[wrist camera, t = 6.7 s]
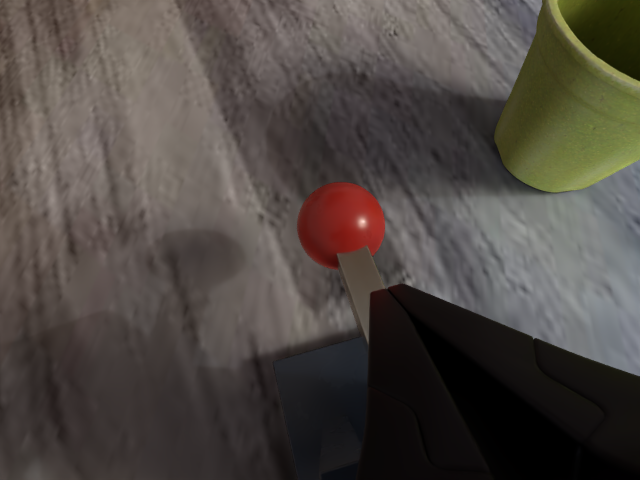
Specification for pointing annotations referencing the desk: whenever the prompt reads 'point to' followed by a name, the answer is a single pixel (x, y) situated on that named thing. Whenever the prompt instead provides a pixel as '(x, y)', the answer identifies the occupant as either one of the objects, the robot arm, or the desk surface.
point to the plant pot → (575, 97)
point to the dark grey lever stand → (325, 408)
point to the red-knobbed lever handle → (345, 241)
